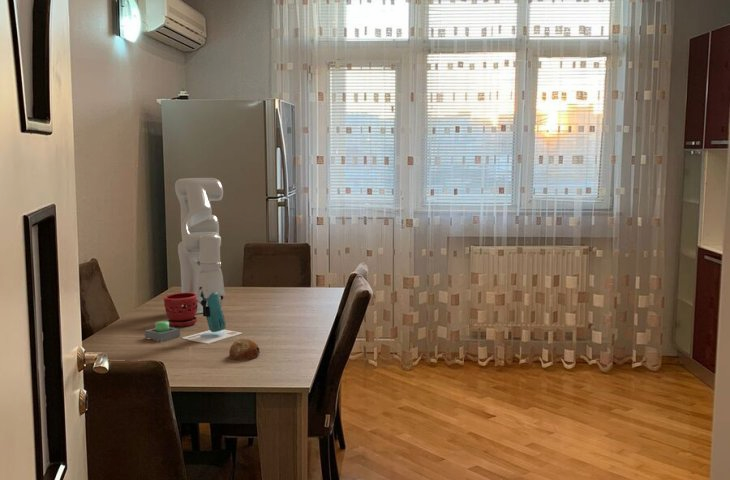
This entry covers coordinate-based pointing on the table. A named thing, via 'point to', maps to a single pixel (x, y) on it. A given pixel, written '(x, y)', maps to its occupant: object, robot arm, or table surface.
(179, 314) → the plant pot
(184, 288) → the robot arm
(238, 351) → the bread roll
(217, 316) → the beverage bottle
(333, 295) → the table surface
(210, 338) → the drawing sheet
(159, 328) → the button
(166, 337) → the button housing
